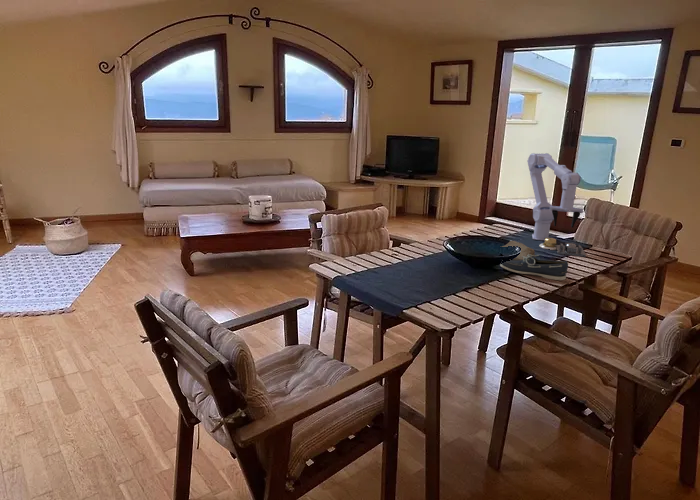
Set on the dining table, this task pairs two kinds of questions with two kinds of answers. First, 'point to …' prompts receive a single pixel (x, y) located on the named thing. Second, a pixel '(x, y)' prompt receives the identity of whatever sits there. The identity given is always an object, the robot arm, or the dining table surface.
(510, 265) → the boat shoe
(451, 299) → the dining table surface
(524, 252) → the artifact
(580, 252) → the post base
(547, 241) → the cap
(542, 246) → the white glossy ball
